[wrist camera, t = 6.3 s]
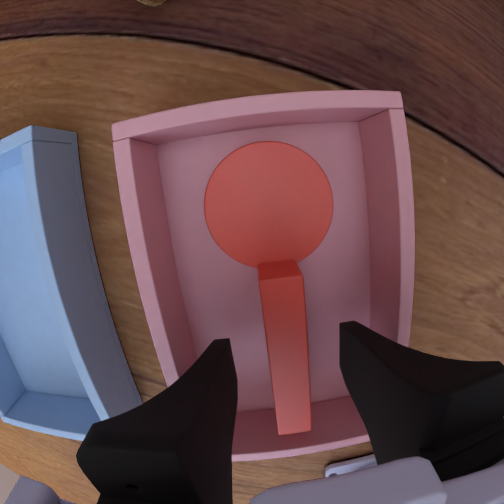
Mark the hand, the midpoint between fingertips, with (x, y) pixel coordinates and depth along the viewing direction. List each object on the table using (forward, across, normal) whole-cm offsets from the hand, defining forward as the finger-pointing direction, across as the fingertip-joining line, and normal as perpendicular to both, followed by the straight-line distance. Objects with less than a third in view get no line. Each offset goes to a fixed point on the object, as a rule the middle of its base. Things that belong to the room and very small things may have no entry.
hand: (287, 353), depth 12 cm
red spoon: (+2, 0, -2) cm, 3 cm away
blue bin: (+2, +12, -3) cm, 13 cm away
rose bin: (+2, 0, -2) cm, 3 cm away
